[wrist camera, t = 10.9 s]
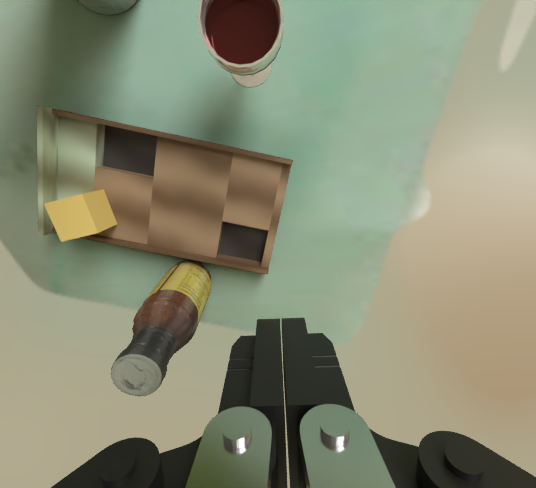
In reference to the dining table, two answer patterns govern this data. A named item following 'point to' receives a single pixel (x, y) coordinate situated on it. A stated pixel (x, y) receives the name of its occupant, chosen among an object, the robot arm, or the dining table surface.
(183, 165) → the trap deck
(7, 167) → the dining table surface
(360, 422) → the robot arm
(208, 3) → the wineglass
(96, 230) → the mustard block
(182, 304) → the sauce bottle
